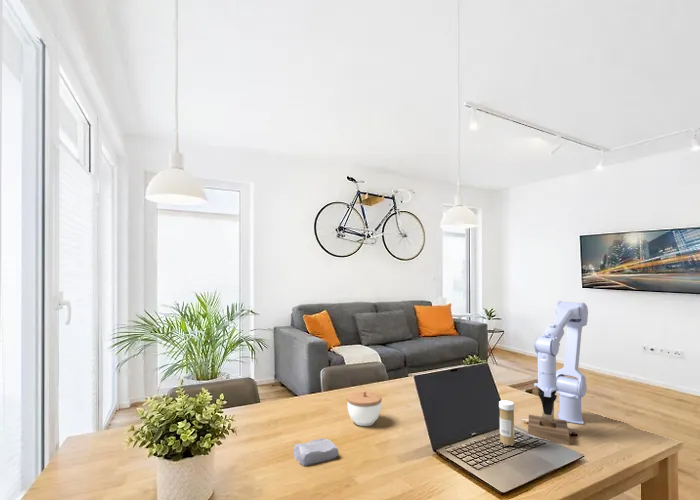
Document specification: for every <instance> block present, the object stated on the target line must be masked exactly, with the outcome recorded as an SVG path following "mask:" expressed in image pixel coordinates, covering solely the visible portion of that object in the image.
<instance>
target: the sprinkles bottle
mask: <svg viewBox="0 0 700 500" xmlns="http://www.w3.org/2000/svg"><path fill="white" fill-rule="evenodd" d="M498 408H499V442H500V441H501V442H502V443H503V444H506V445H511V446H513V445H514V443H515V423H514V422H515V416H514V415H515V414H514V413H515V412H514V411H515V403H514V401H512V400H511V401H510V400H505V399H502V400H500V401H498Z"/></svg>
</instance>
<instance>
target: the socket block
mask: <svg viewBox="0 0 700 500" xmlns="http://www.w3.org/2000/svg"><path fill="white" fill-rule="evenodd" d="M527 424H528V427H527V435H528V434H531V435H534V436H537V437H540V438H543V439H547V440H550V441H552V442H551V443H557V444H561V445H566V446H570V432H569V426H568V422H566V420H561V419H559V418H554V422H546V421H544V420H543V419H542V416H541V415H534V414H530V413H529V414H528V423H527ZM550 441H549V442H550Z"/></svg>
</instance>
